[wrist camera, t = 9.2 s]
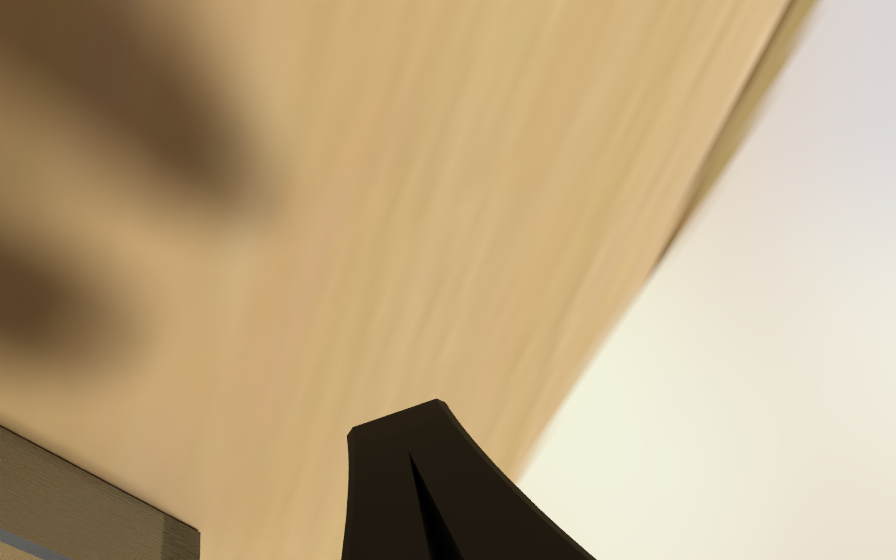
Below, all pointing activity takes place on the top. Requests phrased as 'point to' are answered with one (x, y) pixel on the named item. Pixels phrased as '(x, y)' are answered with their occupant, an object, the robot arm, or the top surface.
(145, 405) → the top surface
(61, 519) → the tray
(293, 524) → the top surface
